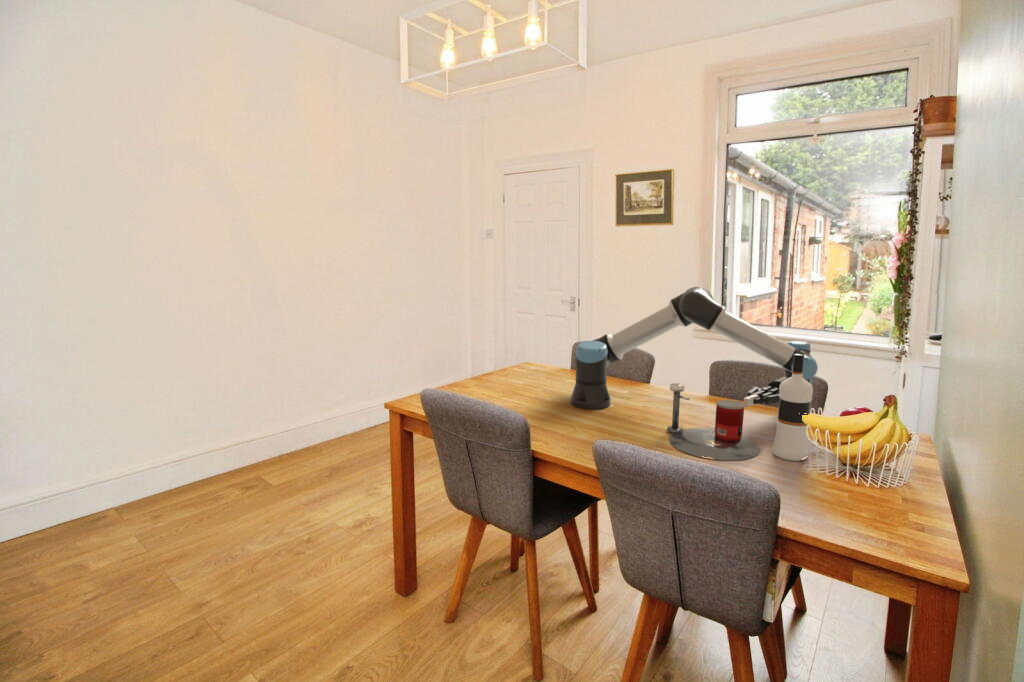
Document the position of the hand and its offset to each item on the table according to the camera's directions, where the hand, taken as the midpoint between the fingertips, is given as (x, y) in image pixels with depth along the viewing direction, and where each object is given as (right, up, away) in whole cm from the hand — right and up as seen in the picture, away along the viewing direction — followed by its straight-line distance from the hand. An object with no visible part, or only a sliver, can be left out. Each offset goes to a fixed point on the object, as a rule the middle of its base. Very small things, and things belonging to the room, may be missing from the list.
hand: (745, 402), depth 171 cm
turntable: (-13, -12, -8) cm, 19 cm away
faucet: (-22, -10, +3) cm, 24 cm away
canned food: (-7, -11, -3) cm, 13 cm away
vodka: (+5, -14, -17) cm, 23 cm away
